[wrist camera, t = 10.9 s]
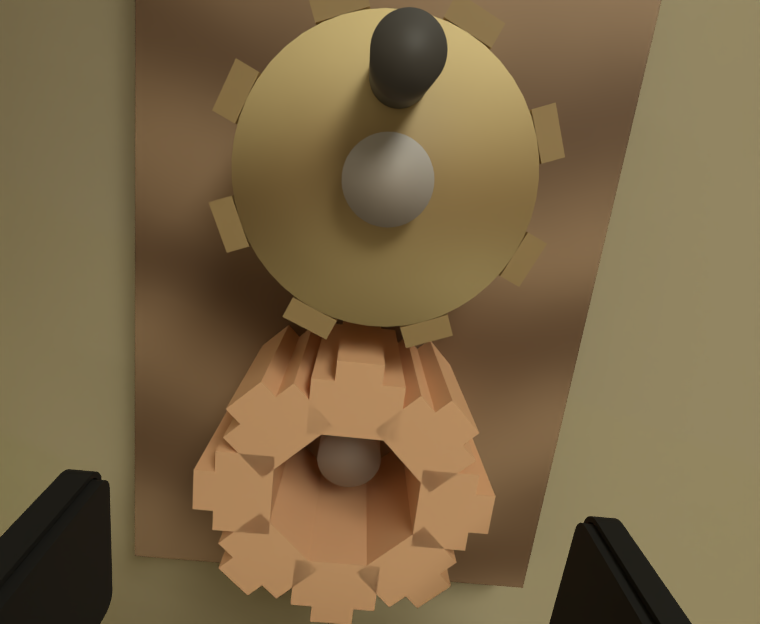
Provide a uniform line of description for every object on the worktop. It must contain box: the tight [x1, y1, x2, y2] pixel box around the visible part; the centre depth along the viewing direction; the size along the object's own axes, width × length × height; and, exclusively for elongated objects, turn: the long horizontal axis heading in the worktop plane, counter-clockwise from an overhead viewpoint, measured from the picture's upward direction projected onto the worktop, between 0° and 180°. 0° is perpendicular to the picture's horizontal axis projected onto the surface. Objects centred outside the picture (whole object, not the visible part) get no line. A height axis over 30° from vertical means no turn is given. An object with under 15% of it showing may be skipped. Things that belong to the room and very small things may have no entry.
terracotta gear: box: [193, 321, 496, 624], centre depth 15 cm, size 7×7×4 cm
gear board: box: [135, 0, 661, 588], centre depth 14 cm, size 20×14×8 cm
